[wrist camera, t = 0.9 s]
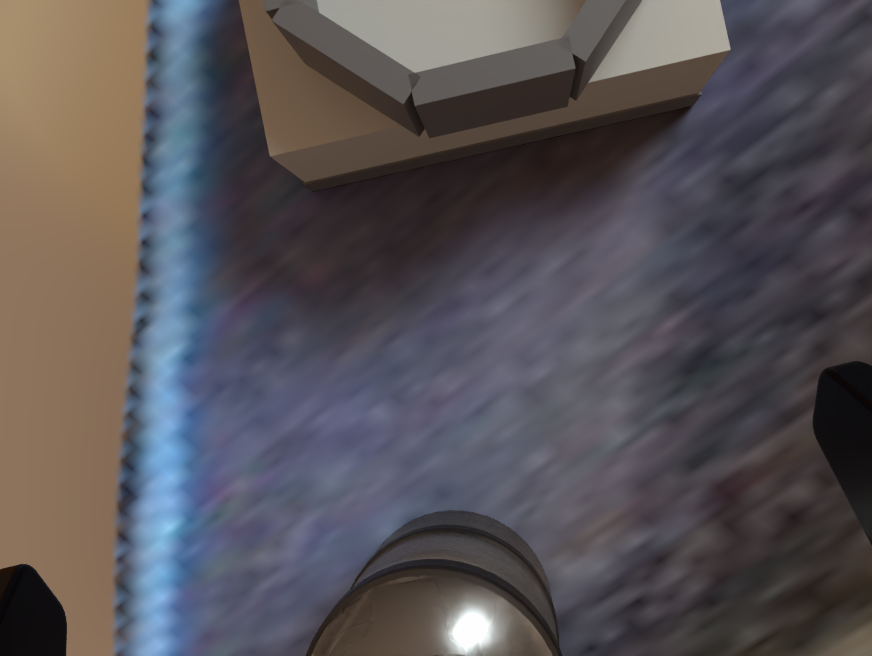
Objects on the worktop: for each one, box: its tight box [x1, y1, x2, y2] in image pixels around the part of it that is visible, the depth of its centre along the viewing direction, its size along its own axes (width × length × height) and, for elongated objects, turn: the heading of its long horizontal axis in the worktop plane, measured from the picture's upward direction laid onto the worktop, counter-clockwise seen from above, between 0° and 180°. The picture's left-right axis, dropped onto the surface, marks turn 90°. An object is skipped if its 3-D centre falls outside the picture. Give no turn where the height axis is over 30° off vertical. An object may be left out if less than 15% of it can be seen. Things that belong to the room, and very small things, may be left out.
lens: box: [306, 510, 562, 656], centre depth 19 cm, size 5×5×6 cm
